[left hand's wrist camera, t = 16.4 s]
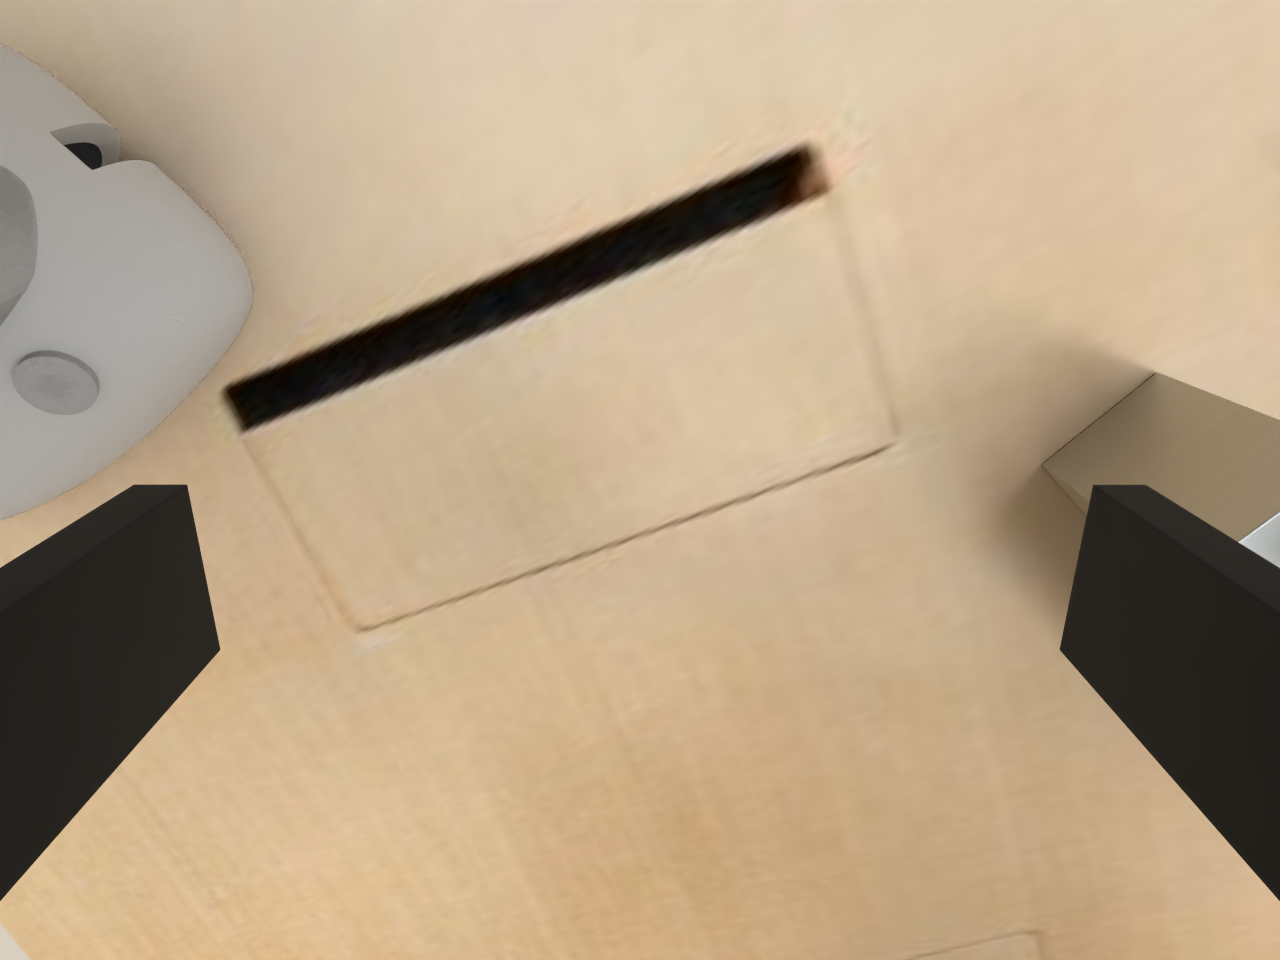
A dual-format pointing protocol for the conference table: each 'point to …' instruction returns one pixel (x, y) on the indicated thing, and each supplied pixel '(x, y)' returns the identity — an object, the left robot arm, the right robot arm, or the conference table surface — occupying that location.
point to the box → (1184, 459)
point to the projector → (95, 291)
